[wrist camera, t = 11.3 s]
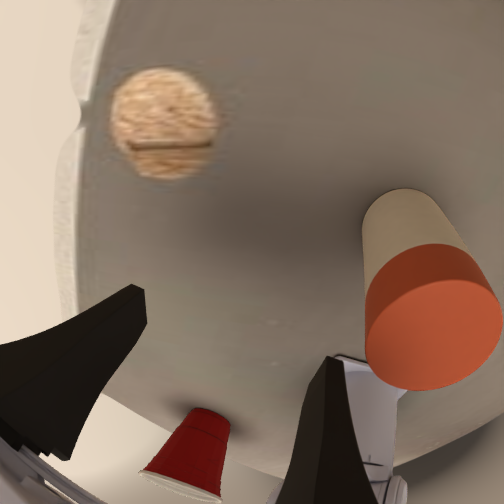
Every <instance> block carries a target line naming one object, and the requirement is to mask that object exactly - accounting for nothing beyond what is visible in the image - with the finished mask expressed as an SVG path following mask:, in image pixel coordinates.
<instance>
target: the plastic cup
mask: <svg viewBox="0 0 504 504" xmlns="http://www.w3.org/2000/svg"><path fill="white" fill-rule="evenodd" d="M229 433H230V424H229V422H228V421H227V420H226V419H225V418H224V417H222V416H220V415H218V414H217V413H214V412H212V411H209V410H205V409H201V408H195V409H193V410H192V411H191V412H190V413H189V414H188V415H187V416H186V418H185V419H184V420H183V422H182V423H181V424H180V426H179V427H177V428H176V430H175V431H174V432H173V434H172V435H171V436H170V438H169V439H168V440H167V442H166V443H165V444H164V446H163V447H162V448H161V450H160V451H159V452H158V454H157V455H156V456H155V457H154V458H153V459H152V461H151V462H150V463H149V464H148V465H147V467H145V468H144V469H143V470H140V471H139V475H140V476H142V477H143V478H145V479H146V480H148V481H150V482H152V483H154V484H156V485H158V486H161V487H163V488H165V489H168V490H170V491H172V492H175V493H178V494H181V495H184V496H187V497H190V498H194V499H198V500H202V501H206V502H211V503H222V499H221V498H220V497H221V496H220V495H221V494H220V490H221V489H220V485H221V481H220V480H221V475H222V470H223V465H224V460H225V455H226V450H227V442H228V437H229Z"/></svg>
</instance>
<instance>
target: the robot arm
mask: <svg viewBox="0 0 504 504" xmlns="http://www.w3.org/2000/svg"><path fill="white" fill-rule="evenodd" d="M146 325H147V316H146V305H145V293H144V289H142V288H140V287H138V286H135V285H133V284H130V285H128V286H127V287H125V288H123V289H121V290H120V291H118V292H116V293H115V294H113V295H111V296H110V297H108V298H106V299H105V300H103V301H101V302H100V303H98V304H96V305H95V306H93V307H91V308H89V309H88V310H86V311H84V312H82V313H81V314H79V315H77V316H75V317H73V318H71V319H69V320H67V321H65V322H63V323H61V324H59V325H57V326H55V327H53V328H50V329H48V330H46V331H43V332H41V333H38V334H35V335H33V336H29V337H27V338H23V339H20V340H17V341H14V342H10V343H6V344H1V345H0V504H74V503H73V502H72V501H71V500H69V499H68V498H67V497H65V496H64V495H63V494H61V493H60V492H58V491H56V490H55V489H53V488H52V487H50V486H48V485H46V484H45V482H44V479H45V480H47V481H48V482H49V483H50V484H52V485H53V486H55V487H56V488H57V489H59V490H60V491H61V492H63V493H64V494H66V495H67V496H68V497H70V498H71V499H73V500H74V501H76V502H77V503H79V504H107V503H105V502H103V501H102V500H100V499H99V498H97V497H95V496H94V495H92V494H90V493H89V492H87V491H86V490H84V489H83V488H81V487H79V486H78V485H77V484H75V483H73V482H72V481H71V480H69V479H68V478H66V477H65V476H63V475H62V474H61V473H59V472H58V471H57V470H55V469H54V468H53V467H51V466H50V465H49V464H47V463H46V462H45V461H43V460H42V459H41V458H40V457H39V455H40V453H41V452H42V453H43V454H45V455H46V456H49V455H50V453H52V454H54V455H55V456H56V457H58V458H59V459H60V460H62V461H67V460H70V458H71V455H72V452H73V449H74V447H75V444H76V442H77V439H78V436H79V435H80V432H81V430H82V428H83V426H84V424H85V421H86V419H87V417H88V415H89V413H90V411H91V409H92V408H93V406H94V404H95V402H96V400H97V398H98V397H99V395H100V393H101V391H102V390H103V388H104V387H105V385H106V384H107V382H108V381H109V379H110V378H111V377H112V375H113V374H114V373H115V371H116V370H117V369H118V367H119V366H120V365H121V363H122V362H123V361H124V359H125V358H126V356H127V355H128V354H129V352H130V351H131V350H132V348H133V347H134V346H135V344H136V343H137V341H138V339H139V337H140V336H141V334H142V332H143V330H144V329H145V327H146ZM407 391H408V390H405V389H400V388H396V387H394V386H391V385H389V384H387V383H385V382H384V381H382V380H381V379H380V378H378V377H377V376H376V375H375V374H374V373H373V371H372V370H371V368H370V367H369V365H368V364H366V363H363V362H359V361H356V360H352V359H349V358H345V357H342V356H337V357H335V358H333V357H329V356H326V358H325V360H324V361H323V363H322V365H321V366H320V368H319V369H318V371H317V373H316V374H315V376H314V377H313V379H312V380H311V382H310V383H309V386H308V389H307V393H306V396H305V399H304V402H303V406H302V410H301V415H300V420H299V425H298V430H297V435H296V439H295V444H294V449H293V453H292V458H291V462H290V465H289V469H288V471H287V474H286V477H285V479H284V480H282V481H281V482H280V483H279V484H278V485H277V486H276V487H275V488H274V489H273V491H272V492H271V494H270V495H269V497H268V500H267V502H266V504H406V503H407V483H406V482H405V481H404V480H403V479H402V477H401V476H393V473H392V470H393V461H394V450H395V437H396V420H397V400H398V399H399V398H400V397H401V396H403V395H404V394H405V393H406V392H407Z"/></svg>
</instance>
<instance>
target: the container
mask: <svg viewBox="0 0 504 504" xmlns="http://www.w3.org/2000/svg"><path fill="white" fill-rule="evenodd" d="M362 242H363V259H364V282H365V355H366V360H367V362H368V365H369V367H370V368H371V370H372V371H373V373H374V374H375V375H376V376H377V377H378V378H380V379H381V380H382V381H384V382H385V383H387V384H389V385H391V386H394V387H396V388H400V389H405V390H412V391H425V390H433V389H438V388H442V387H445V386H448V385H451V384H453V383H456V382H458V381H460V380H462V379H463V378H465V377H467V376H468V375H470V374H471V373H473V372H474V371H475V370H477V369H478V368H479V367H480V366H481V365H482V364H483V363H484V362H485V361H486V360H487V359H488V357H489V356H490V355H491V353H492V352H493V350H494V349H495V347H496V345H497V343H498V341H499V338H500V335H501V331H502V325H503V315H502V310H501V307H500V304H499V302H498V300H497V298H496V296H495V294H494V292H493V290H492V289H491V287H490V285H489V283H488V281H487V280H486V278H485V276H484V275H483V273H482V271H481V269H480V268H479V266H478V265H477V263H476V261H475V260H474V258H473V256H472V255H471V253H470V252H469V250H468V248H467V247H466V245H465V244H464V242H463V241H462V239H461V238H460V236H459V235H458V233H457V232H456V230H455V229H454V227H453V226H452V224H451V223H450V222H449V220H448V219H447V217H446V216H445V215H444V213H443V212H442V210H441V209H440V208H439V206H438V205H437V204H436V203H435V201H434V200H433V199H432V198H430V197H429V196H428V195H426V194H425V193H423V192H420V191H417V190H414V189H397V190H393V191H390V192H387V193H385V194H384V195H382V196H380V197H379V198H378V199H377V200H376V201H375V202H373V204H372V205H371V206H370V207H369V209H368V211H367V212H366V215H365V217H364V220H363V224H362Z"/></svg>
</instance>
